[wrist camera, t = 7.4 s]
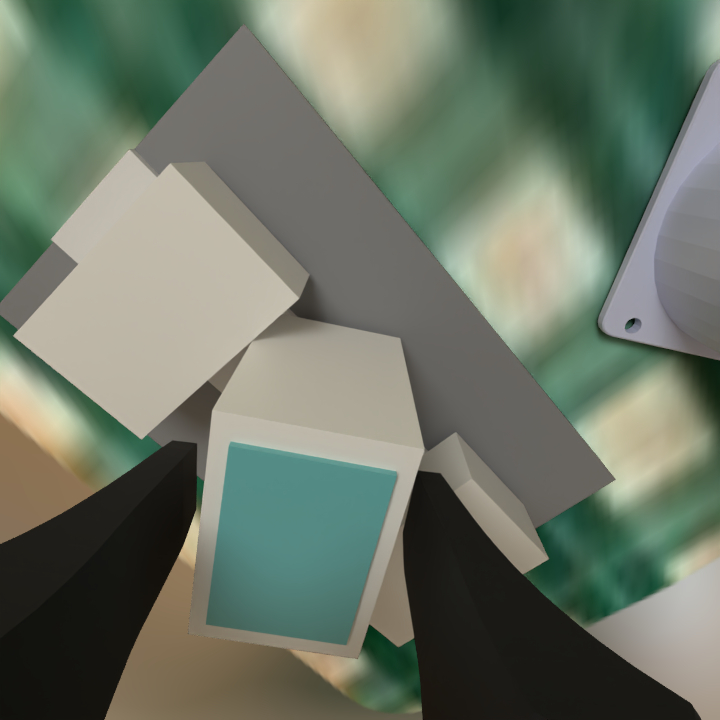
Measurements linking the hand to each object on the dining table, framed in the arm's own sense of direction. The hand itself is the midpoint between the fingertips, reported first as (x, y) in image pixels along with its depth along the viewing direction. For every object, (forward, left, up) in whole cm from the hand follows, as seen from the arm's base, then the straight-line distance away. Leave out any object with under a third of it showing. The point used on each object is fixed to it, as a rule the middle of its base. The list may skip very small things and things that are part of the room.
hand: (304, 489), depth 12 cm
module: (0, 0, -4) cm, 4 cm away
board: (0, 0, -5) cm, 5 cm away
